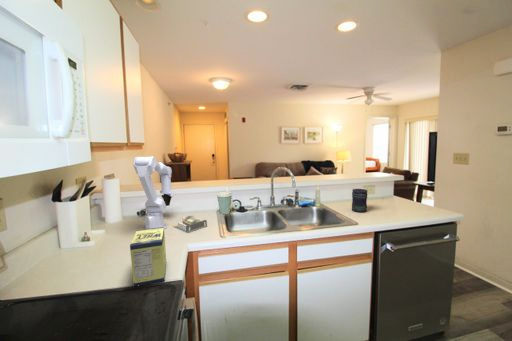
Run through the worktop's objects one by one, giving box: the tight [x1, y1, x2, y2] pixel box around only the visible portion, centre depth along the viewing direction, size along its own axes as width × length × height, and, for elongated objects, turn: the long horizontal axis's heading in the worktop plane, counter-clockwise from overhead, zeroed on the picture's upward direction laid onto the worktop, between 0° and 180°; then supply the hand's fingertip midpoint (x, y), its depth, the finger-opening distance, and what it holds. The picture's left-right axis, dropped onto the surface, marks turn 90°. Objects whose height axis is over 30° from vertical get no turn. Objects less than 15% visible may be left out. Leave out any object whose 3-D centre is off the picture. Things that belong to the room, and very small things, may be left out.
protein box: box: [129, 227, 167, 287], centre depth 90 cm, size 10×16×16 cm
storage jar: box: [351, 188, 368, 214], centre depth 165 cm, size 10×10×15 cm
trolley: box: [182, 214, 201, 225], centre depth 139 cm, size 7×9×5 cm
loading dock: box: [172, 219, 208, 234], centre depth 141 cm, size 13×17×5 cm
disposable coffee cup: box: [216, 190, 233, 215], centre depth 165 cm, size 11×11×15 cm
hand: (167, 205), depth 153 cm, fingers closed
